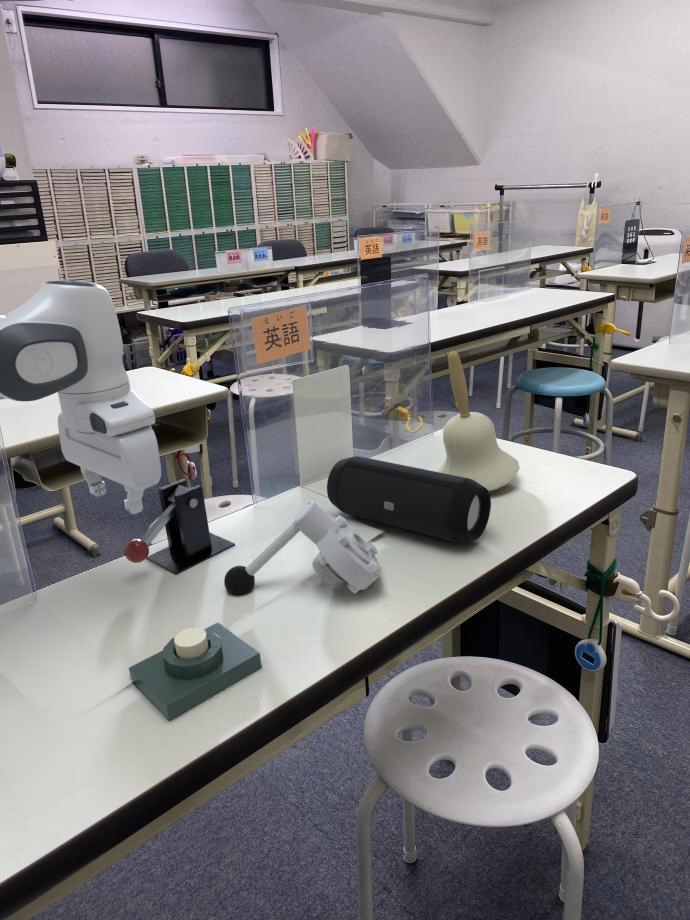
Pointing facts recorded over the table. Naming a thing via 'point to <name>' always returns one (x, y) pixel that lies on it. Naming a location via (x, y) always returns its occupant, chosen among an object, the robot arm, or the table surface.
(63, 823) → the table surface
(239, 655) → the control block
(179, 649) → the button
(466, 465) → the handbell
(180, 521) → the bracket
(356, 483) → the portable speaker
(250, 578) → the mechanical valve
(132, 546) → the lever
